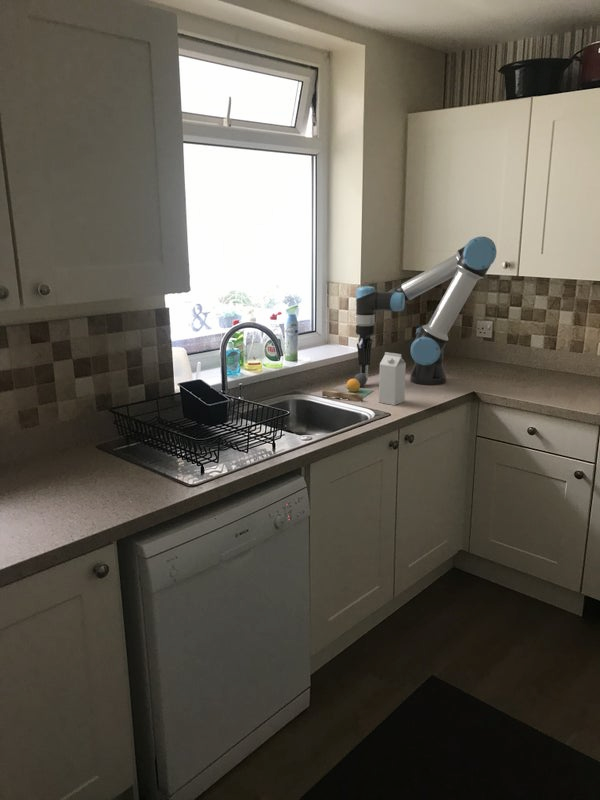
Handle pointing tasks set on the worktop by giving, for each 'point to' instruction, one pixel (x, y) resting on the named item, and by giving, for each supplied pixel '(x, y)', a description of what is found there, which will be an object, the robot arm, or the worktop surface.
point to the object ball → (353, 385)
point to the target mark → (362, 392)
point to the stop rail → (343, 395)
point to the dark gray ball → (361, 379)
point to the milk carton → (392, 379)
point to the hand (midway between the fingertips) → (364, 380)
